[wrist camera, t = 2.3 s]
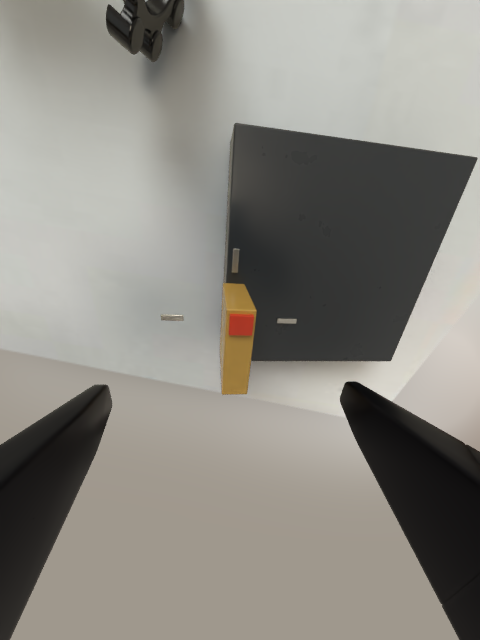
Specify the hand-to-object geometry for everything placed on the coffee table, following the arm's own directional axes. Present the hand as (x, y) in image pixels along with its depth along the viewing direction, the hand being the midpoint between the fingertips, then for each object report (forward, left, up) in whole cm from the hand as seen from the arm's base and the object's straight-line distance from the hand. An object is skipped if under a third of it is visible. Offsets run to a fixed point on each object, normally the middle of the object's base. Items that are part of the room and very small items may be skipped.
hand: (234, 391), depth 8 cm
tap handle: (0, 0, -7) cm, 7 cm away
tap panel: (+3, -5, -10) cm, 12 cm away
